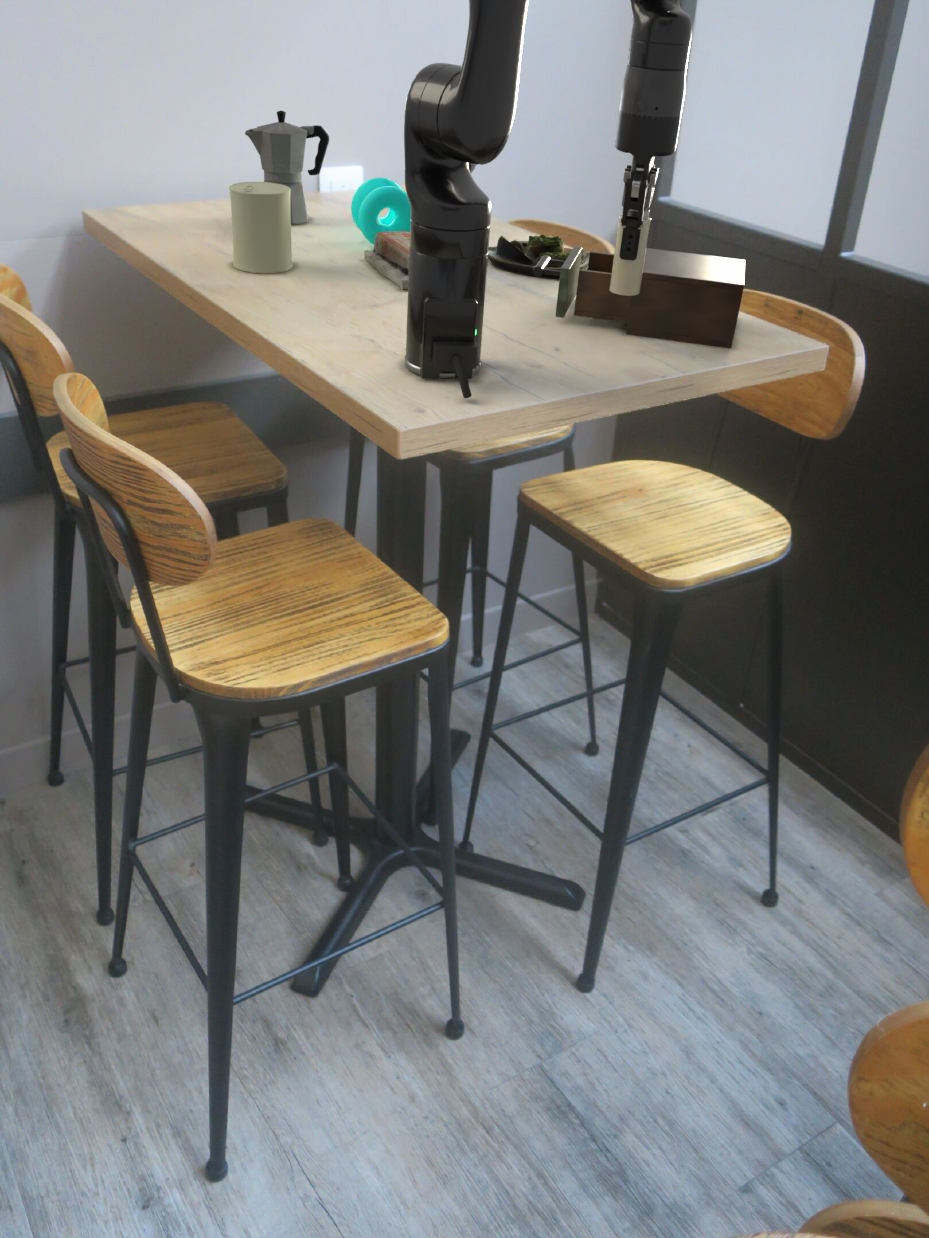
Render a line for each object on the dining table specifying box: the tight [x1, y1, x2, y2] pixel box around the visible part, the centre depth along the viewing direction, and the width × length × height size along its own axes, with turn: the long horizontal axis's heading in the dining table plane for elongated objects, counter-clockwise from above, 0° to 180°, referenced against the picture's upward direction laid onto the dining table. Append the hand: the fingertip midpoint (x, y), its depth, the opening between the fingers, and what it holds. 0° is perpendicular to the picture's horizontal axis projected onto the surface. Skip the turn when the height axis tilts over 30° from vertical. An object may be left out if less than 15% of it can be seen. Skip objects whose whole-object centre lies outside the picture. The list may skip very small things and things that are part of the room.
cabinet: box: [625, 247, 746, 349], centre depth 149 cm, size 15×15×9 cm
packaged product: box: [363, 231, 410, 290], centre depth 164 cm, size 18×5×10 cm
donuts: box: [350, 177, 411, 246], centre depth 178 cm, size 10×10×10 cm
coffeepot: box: [244, 110, 330, 226], centre depth 187 cm, size 15×9×18 cm, turn 118°
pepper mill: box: [609, 208, 652, 296], centre depth 135 cm, size 4×4×12 cm
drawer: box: [533, 246, 631, 324], centre depth 151 cm, size 18×13×7 cm
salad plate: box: [488, 233, 590, 279], centre depth 175 cm, size 19×18×5 cm
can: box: [228, 181, 294, 274], centre depth 160 cm, size 9×9×12 cm
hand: (629, 254), depth 135 cm, fingers closed on pepper mill, 4 cm apart
